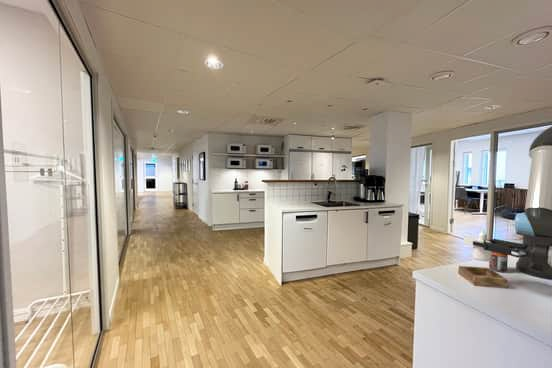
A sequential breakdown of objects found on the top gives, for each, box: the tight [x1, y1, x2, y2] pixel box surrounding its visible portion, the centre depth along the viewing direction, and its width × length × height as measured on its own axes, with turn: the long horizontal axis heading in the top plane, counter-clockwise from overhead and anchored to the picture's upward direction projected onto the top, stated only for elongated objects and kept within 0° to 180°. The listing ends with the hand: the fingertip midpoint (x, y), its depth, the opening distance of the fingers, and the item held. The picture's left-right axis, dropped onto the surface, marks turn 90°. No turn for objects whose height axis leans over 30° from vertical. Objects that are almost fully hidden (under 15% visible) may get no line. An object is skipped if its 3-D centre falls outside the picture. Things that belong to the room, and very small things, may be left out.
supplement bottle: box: [488, 252, 509, 273], centre depth 105 cm, size 6×6×11 cm
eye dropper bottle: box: [472, 230, 492, 262], centre depth 94 cm, size 4×6×12 cm
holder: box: [457, 265, 509, 289], centre depth 95 cm, size 11×11×4 cm
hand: (466, 239), depth 99 cm, fingers closed on eye dropper bottle, 4 cm apart
